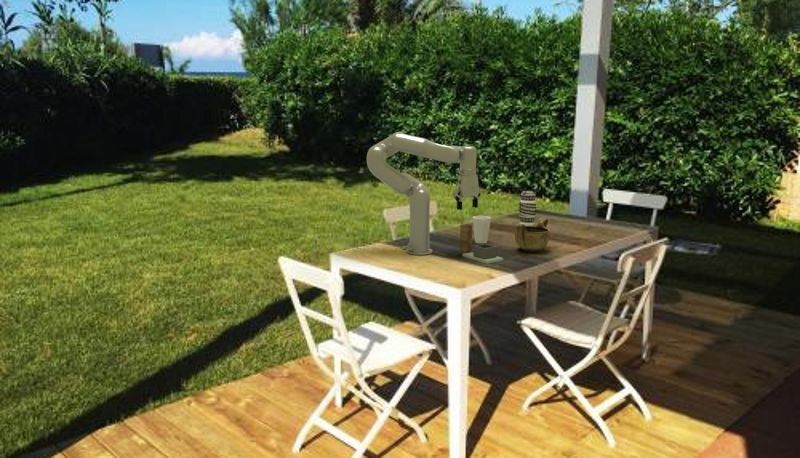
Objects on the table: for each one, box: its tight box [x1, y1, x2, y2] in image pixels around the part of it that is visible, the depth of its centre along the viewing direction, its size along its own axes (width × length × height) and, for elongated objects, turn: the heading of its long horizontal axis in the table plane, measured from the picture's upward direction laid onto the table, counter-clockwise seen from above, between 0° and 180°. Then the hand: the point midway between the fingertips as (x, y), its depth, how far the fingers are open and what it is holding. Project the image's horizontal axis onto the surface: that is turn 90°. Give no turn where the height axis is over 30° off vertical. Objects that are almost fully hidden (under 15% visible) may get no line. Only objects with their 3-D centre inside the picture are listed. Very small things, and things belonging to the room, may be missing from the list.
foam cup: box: [472, 215, 492, 244], centre depth 344 cm, size 10×9×13 cm
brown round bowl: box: [514, 217, 550, 253], centre depth 326 cm, size 22×17×15 cm
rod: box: [459, 223, 473, 255], centre depth 320 cm, size 4×4×14 cm
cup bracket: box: [462, 243, 504, 264], centre depth 311 cm, size 10×17×6 cm, turn 35°
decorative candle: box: [518, 190, 537, 226], centre depth 354 cm, size 9×9×25 cm
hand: (467, 208), depth 317 cm, fingers open, 9 cm apart
